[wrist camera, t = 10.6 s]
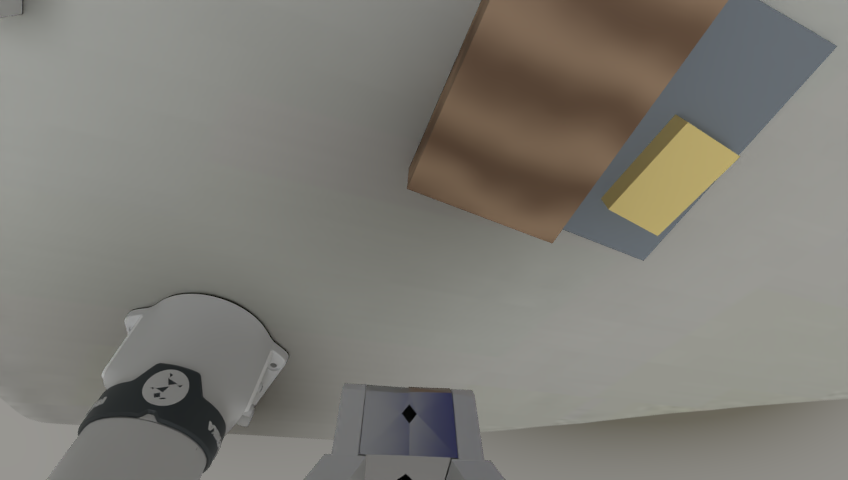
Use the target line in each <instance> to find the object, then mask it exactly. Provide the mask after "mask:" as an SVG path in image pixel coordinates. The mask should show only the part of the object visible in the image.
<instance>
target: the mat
mask: <svg viewBox="0 0 848 480" xmlns="http://www.w3.org/2000/svg"><path fill="white" fill-rule="evenodd" d="M836 47H837V46H836V45H834V44H832V43H831V42H829V41H827V40H826V39H824V38H822V37H821V36H819V35H817V34H816V33H814V32H812V31H810V30H809V29H807V28H805V27H804V26H802V25H800V24H799V23H797V22H795V21H793V20H792V19H790V18H788V17H787V16H785V15H783V14H782V13H780V12H778V11H776V10H775V9H773V8H771V7H770V6H768V5H766V4H765V3H763V2H761V1H759V0H728V2H727V3H726V4H725V6H724V7H723V8H722V10H721V11H720V13H719V14H718V15H717V17H716V18H715V19H714V21H713V22H712V24H711V25H710V26H709V28H708V29H707V31H706V32H705V33H704V35H703V36H702V37H701V39H700V40H699V42H698V43H697V44H696V46H695V47H694V48H693V50H692V51H691V53H690V54H689V55H688V57H687V58H686V59H685V61H684V62H683V64H682V65H681V66H680V68H679V69H678V71H677V72H676V73H675V75H674V76H673V77H672V79H671V80H670V82H669V83H668V84H667V86H666V87H665V88H664V90H663V91H662V93H661V94H660V95H659V97H658V98H657V100H656V101H655V102H654V104H653V105H652V106H651V108H650V109H649V111H648V112H647V113H646V115H645V116H644V117H643V119H642V120H641V122H640V123H639V124H638V126H637V127H636V128H635V130H634V131H633V133H632V134H631V135H630V137H629V138H628V140H627V141H626V142H625V144H624V145H623V146H622V148H621V149H620V151H619V152H618V153H617V155H616V156H615V157H614V159H613V160H612V162H611V163H610V164H609V166H608V167H607V169H606V170H605V171H604V173H603V174H602V175H601V177H600V178H599V180H598V181H597V182H596V184H595V185H594V186H593V188H592V189H591V191H590V192H589V193H588V195H587V196H586V197H585V199H584V200H583V202H582V203H581V204H580V206H579V207H578V209H577V210H576V211H575V213H574V214H573V215H572V217H571V218H570V220H569V221H568V222H567V224H566V225H565V226H564V228H563V230H566V231H568V232H571V233H573V234H576V235H579V236H581V237H584V238H586V239H589V240H592V241H594V242H597V243H599V244H602V245H604V246H607V247H610V248H612V249H615V250H617V251H620V252H623V253H625V254H628V255H630V256H633V257H635V258H638V259H641V260H643V261H644V259H645V258H646V257H647V256H648V255H649V254H650V253H651V252H652V251H653V249H654V248H655V247H656V246H657V245H658V244H659V243H660V242H661V241H662V239H663V238H664V237H665V236H666V235H667V234H668V233H669V232H670V231H671V230H672V228H673V227H674V226H675V225H676V224H677V223H678V222H679V221H680V220H681V218H682V217H683V216H684V215H685V214H686V213H687V212H688V211H689V210H690V209H691V207H692V206H693V205H694V204H695V203H696V202H697V201H698V200H699V199H700V197H701V196H702V195H703V194H704V193H705V192H706V191H707V190H708V189H709V187H710V186H711V185H712V184H713V183H714V182H715V181H716V180H717V179H718V178H717V179H716V180H715V181H714V182H713V183H712V184H711V185H710V186H709V187H708V188H707V189H706V190H705V191H704V192H703V193H702V194H701V195H700V196H699V197H698V198H697V199H696V200H695V201H694V202H693V203H692V204H691V205H689V206H688V207H687V208H686V209H685V210H684V211H683V212H682V213H681V214H680V215H679V216H678V217H677V218H676V219H675V220H674V221H673V222H672V223H671V224H670V225H669V226H668V227H667V228H666V229H665V230H664V231H663V232H661V233H660V234H659V235H658V236H656V235H655V234H653V233H651V232H649V231H647V230H645V229H644V228H642V227H640V226H638V225H636V224H634V223H633V222H631V221H629V220H627V219H625V218H623V217H621V216H620V215H618V214H616V213H614V212H612V211H610V210H609V209H608V208H607V207H606V205H605V204H604V202H603V201H602V200H601V198H602V197H603V196H604V194H605V193H606V192H607V191H608V190H609V189H610V188H611V187H612V185H613V184H614V183H615V182H616V181H617V180H618V179H619V178H620V176H621V175H622V174H623V173H624V172H625V171H626V170H627V168H628V167H629V166H630V165H631V164H632V163H633V162H634V161H635V159H636V158H637V157H638V156H639V155H640V154H641V153H642V152H643V150H644V149H645V148H646V147H647V146H648V145H649V144H650V143H651V141H652V140H653V139H654V138H655V137H656V136H657V135H658V134H659V132H660V131H661V130H662V129H663V128H664V127H665V126H666V125H667V123H668V122H669V121H670V120H671V119H672V118H673V117H674V116H675V114H676V115H678V116H679V117H681V118H682V119H684V120H685V121H687V122H689V123H690V124H692V125H693V126H695V127H696V128H698V129H699V130H701V131H702V132H704V133H705V134H707V135H708V136H710V137H711V138H713V139H714V140H716V141H717V142H719V143H721V144H722V145H724V146H725V147H727V148H728V149H730V150H731V151H733V152H734V153H736V154H737V155H739V154H740V153H741V152H742V151H743V150H744V149H745V148H746V147H747V145H748V144H749V143H750V142H751V141H752V140H753V139H754V138H755V137H756V135H757V134H758V133H759V132H760V131H761V130H762V129H763V128H764V127H765V126H766V124H767V123H768V122H769V121H770V120H771V119H772V118H773V117H774V116H775V114H776V113H777V112H778V111H779V110H780V109H781V108H782V107H783V106H784V104H785V103H786V102H787V101H788V100H789V99H790V98H791V97H792V96H793V95H794V93H795V92H796V91H797V90H798V89H799V88H800V87H801V86H802V85H803V83H804V82H805V81H806V80H807V79H808V78H809V77H810V76H811V75H812V73H813V72H814V71H815V70H816V69H817V68H818V67H819V66H820V65H821V64H822V62H823V61H824V60H825V59H826V58H827V57H828V56H829V55H830V54H831V52H832V51H833V50H834V49H835V48H836Z"/></svg>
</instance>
